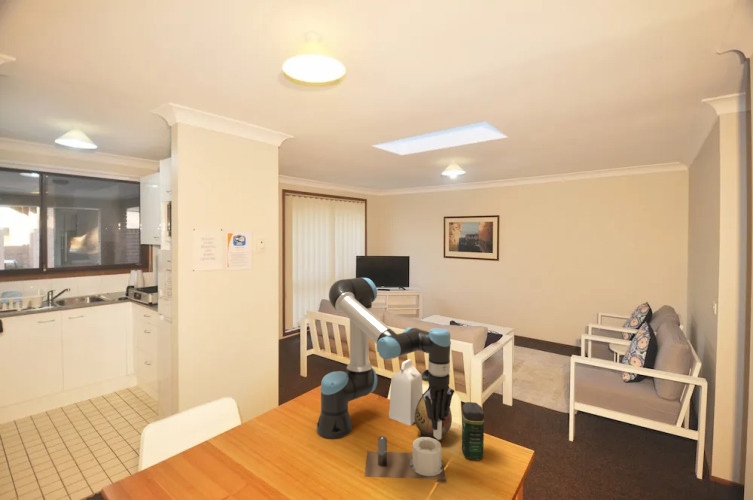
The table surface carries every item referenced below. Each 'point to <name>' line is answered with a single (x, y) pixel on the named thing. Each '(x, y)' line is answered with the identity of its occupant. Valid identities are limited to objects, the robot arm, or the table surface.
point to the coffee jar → (472, 431)
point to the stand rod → (382, 451)
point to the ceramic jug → (423, 421)
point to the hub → (424, 473)
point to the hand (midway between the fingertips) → (437, 437)
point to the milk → (405, 393)
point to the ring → (427, 455)
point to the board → (395, 467)
